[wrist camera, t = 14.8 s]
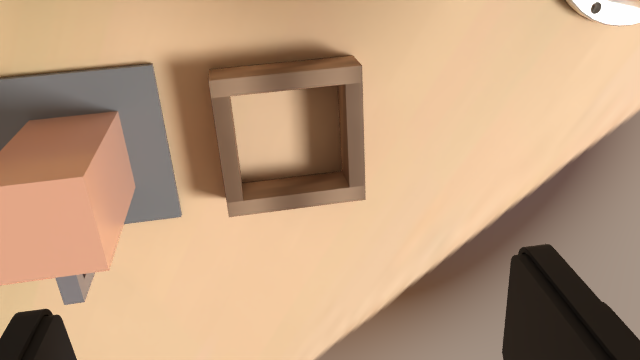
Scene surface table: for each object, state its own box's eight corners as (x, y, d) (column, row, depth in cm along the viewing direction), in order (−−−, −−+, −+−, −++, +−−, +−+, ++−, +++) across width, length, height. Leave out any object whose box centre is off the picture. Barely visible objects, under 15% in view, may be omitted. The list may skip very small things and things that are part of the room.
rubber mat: (152, 63, 39) (151, 65, 38) (181, 213, 44) (181, 216, 43) (-31, 80, 37) (-34, 83, 37) (22, 233, 42) (20, 237, 42)
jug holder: (352, 55, 41) (361, 65, 38) (357, 182, 45) (365, 199, 42) (209, 69, 39) (208, 80, 37) (228, 198, 44) (228, 217, 41)
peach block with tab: (117, 111, 39) (83, 176, 29) (143, 221, 43) (120, 311, 33) (28, 120, 38) (-38, 190, 29) (63, 231, 42) (15, 327, 33)
